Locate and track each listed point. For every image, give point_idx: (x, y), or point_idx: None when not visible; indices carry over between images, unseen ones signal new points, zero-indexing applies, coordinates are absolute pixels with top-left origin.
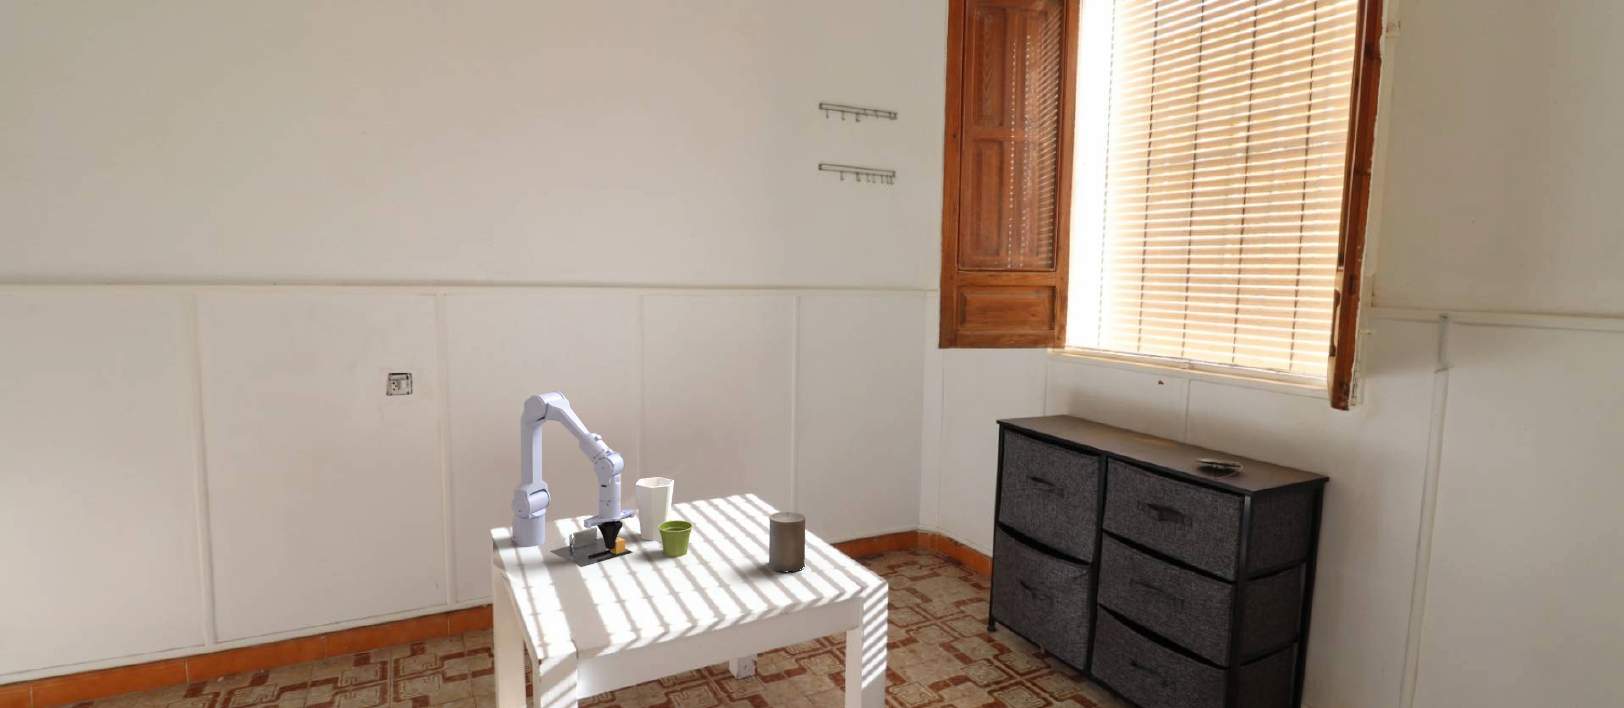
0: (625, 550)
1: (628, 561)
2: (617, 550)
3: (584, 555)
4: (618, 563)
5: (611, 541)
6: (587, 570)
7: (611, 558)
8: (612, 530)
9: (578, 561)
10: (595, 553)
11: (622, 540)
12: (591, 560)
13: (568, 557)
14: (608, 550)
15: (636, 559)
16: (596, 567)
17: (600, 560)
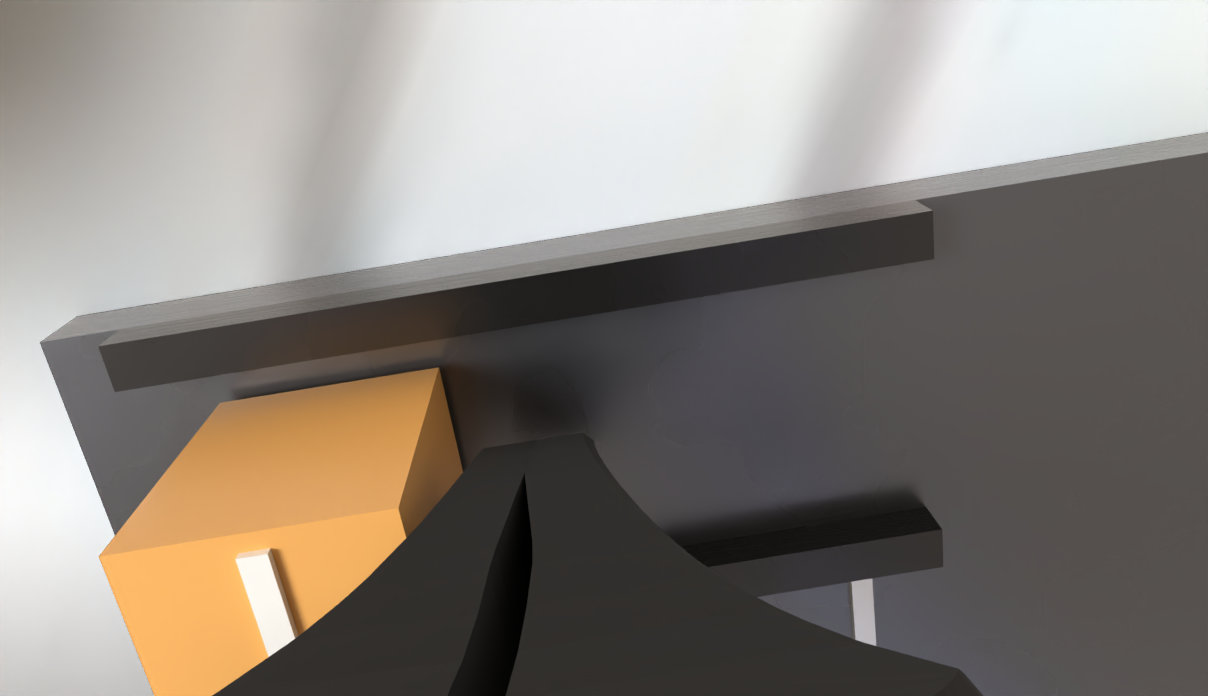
0: None
1: (279, 77)
2: (399, 405)
3: (934, 643)
4: (506, 88)
5: (569, 500)
6: (1170, 77)
7: (600, 251)
8: (598, 681)
9: (1174, 440)
10: (794, 572)
11: (193, 538)
12: (973, 359)
13: (1184, 684)
14: None
15: (83, 91)
16: (957, 130)
17: (875, 213)
